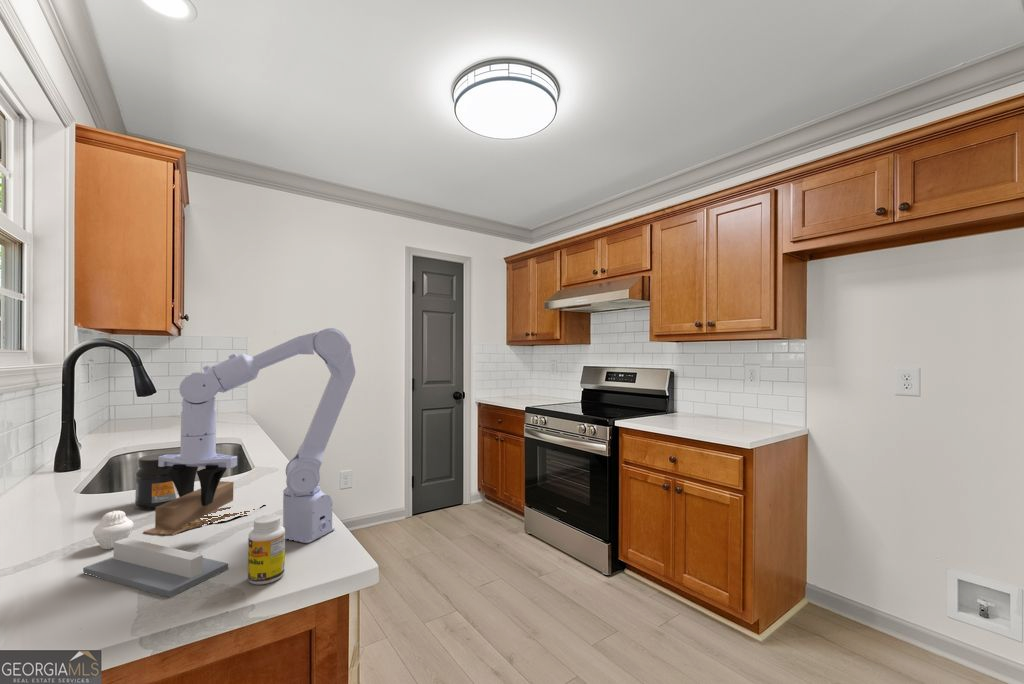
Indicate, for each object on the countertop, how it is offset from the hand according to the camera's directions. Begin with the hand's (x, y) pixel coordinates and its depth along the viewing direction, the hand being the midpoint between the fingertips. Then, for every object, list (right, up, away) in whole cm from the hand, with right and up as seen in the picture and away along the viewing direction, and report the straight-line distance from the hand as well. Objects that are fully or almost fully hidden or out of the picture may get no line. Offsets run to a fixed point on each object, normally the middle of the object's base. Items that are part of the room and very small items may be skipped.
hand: (197, 503), depth 90 cm
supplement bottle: (+19, -9, -11) cm, 24 cm away
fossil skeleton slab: (-8, -10, +17) cm, 21 cm away
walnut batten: (0, -2, 0) cm, 2 cm away
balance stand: (-1, -9, -9) cm, 12 cm away
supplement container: (-27, -10, +26) cm, 39 cm away
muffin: (-18, -9, +2) cm, 20 cm away
